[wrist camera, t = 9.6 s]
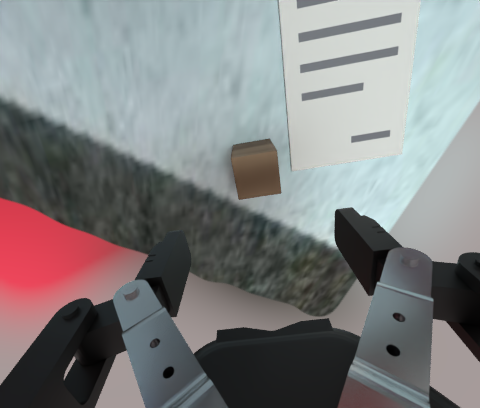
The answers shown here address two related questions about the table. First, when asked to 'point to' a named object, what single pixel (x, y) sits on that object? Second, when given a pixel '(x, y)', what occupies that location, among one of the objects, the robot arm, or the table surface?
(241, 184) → the walnut block
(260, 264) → the table surface
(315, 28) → the letter
